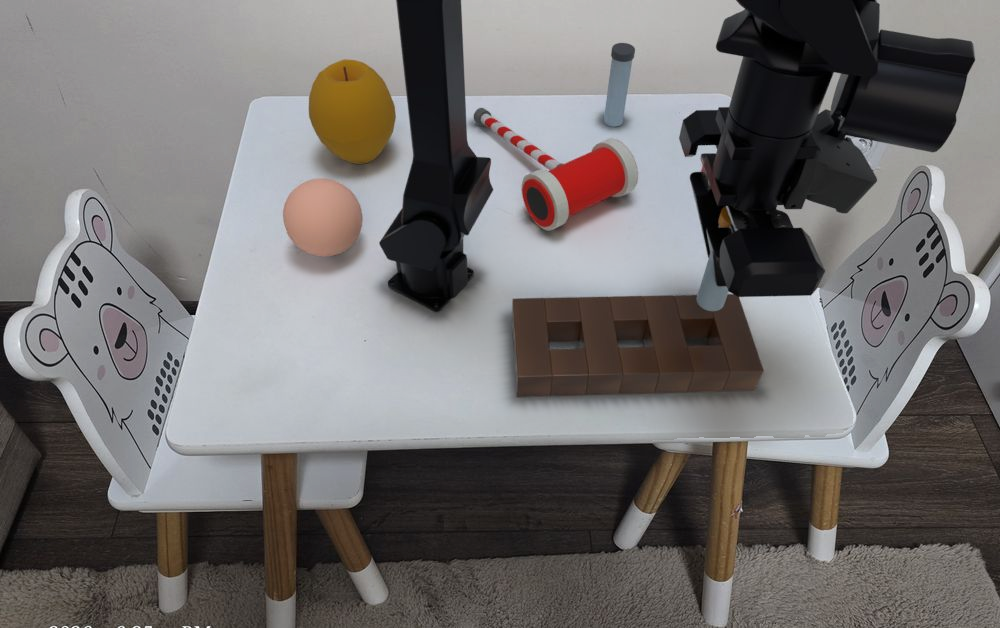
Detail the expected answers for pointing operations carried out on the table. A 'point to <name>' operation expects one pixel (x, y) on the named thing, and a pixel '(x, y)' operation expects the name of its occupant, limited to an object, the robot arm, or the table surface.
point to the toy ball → (322, 217)
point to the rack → (631, 368)
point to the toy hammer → (569, 176)
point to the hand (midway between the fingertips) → (718, 273)
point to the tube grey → (618, 83)
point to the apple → (352, 111)
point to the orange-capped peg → (713, 278)
